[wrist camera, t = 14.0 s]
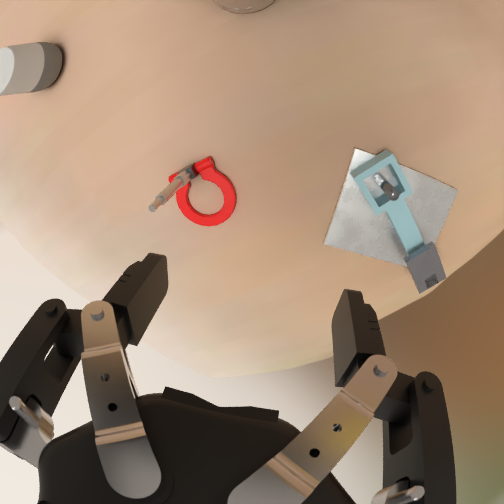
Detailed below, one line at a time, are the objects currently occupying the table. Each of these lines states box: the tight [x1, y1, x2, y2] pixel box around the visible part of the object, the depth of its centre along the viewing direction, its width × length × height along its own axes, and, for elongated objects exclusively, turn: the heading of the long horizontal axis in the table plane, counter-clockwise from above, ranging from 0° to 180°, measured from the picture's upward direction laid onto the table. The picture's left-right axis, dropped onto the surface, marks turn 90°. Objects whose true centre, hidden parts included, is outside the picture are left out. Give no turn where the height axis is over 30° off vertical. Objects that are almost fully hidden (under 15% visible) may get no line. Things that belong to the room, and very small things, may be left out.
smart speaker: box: [0, 42, 62, 96], centre depth 26 cm, size 10×9×14 cm
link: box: [350, 150, 425, 255], centre depth 36 cm, size 17×6×3 cm, turn 38°
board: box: [324, 148, 458, 267], centre depth 38 cm, size 15×18×1 cm
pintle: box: [374, 174, 399, 201], centre depth 32 cm, size 1×1×7 cm
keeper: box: [403, 241, 446, 293], centre depth 38 cm, size 7×5×6 cm
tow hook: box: [149, 157, 236, 226], centre depth 36 cm, size 9×14×10 cm
